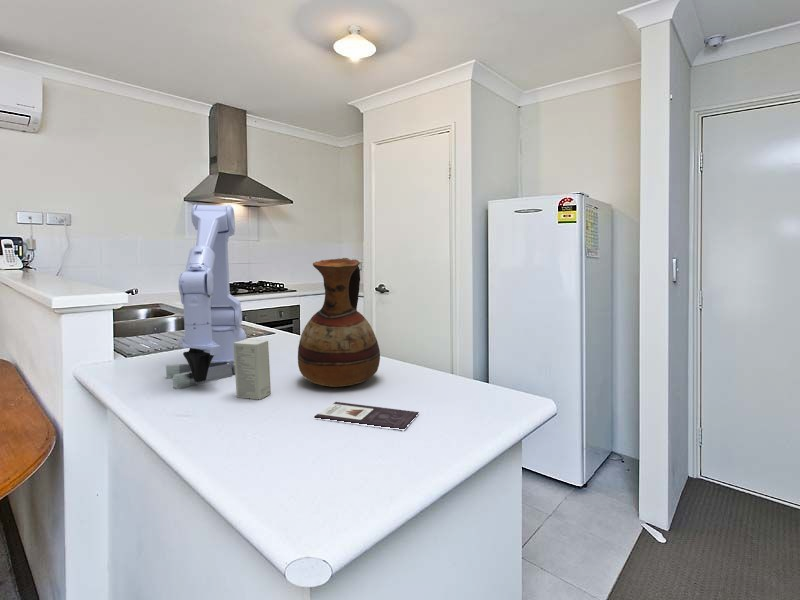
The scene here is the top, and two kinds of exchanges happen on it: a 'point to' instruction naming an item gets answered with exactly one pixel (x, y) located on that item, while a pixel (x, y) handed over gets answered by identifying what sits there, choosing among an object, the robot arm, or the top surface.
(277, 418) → the top surface
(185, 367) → the bar
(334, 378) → the ceramic pitcher
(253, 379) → the skincare box
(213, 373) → the tongs moving leg
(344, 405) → the chocolate bar
